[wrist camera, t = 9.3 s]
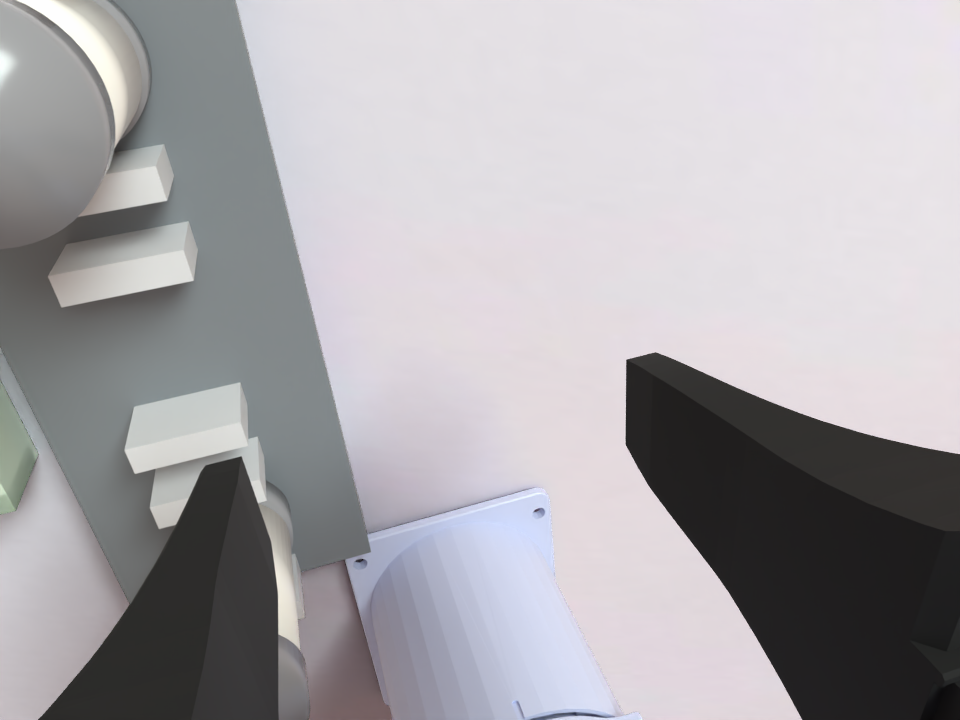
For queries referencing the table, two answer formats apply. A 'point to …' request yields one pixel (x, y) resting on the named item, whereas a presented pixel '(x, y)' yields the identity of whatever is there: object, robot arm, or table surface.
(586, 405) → the table surface
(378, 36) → the table surface
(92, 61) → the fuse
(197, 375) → the clip board
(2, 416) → the tray
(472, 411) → the table surface
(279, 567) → the fuse
